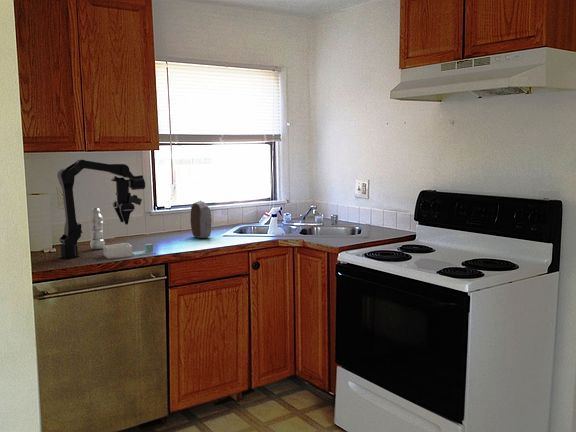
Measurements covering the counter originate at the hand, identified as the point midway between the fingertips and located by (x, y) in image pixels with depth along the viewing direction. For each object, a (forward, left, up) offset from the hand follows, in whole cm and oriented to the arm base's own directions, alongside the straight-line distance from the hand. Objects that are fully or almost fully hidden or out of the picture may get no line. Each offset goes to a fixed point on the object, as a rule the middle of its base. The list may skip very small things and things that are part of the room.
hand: (124, 223), depth 263 cm
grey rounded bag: (+46, -9, -13) cm, 49 cm away
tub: (-11, -7, -13) cm, 18 cm away
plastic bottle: (-4, +15, -13) cm, 20 cm away
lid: (-1, -13, -14) cm, 19 cm away
